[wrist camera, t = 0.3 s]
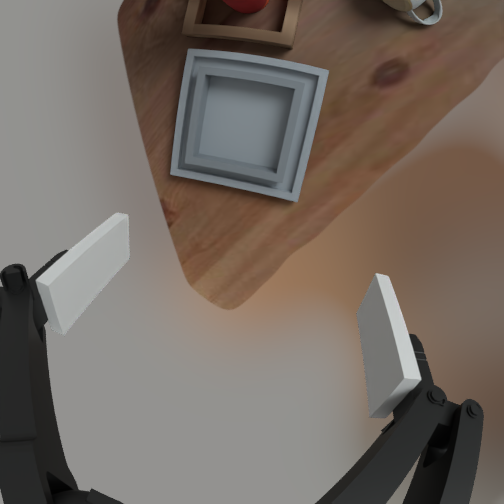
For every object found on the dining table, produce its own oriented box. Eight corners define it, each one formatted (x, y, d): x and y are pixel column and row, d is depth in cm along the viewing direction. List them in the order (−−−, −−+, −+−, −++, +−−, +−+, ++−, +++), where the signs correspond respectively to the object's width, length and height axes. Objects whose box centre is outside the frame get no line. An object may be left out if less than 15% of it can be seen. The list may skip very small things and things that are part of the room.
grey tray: (192, 50, 33) (183, 47, 30) (328, 71, 32) (330, 69, 29) (174, 171, 42) (165, 177, 39) (297, 198, 41) (297, 206, 38)
